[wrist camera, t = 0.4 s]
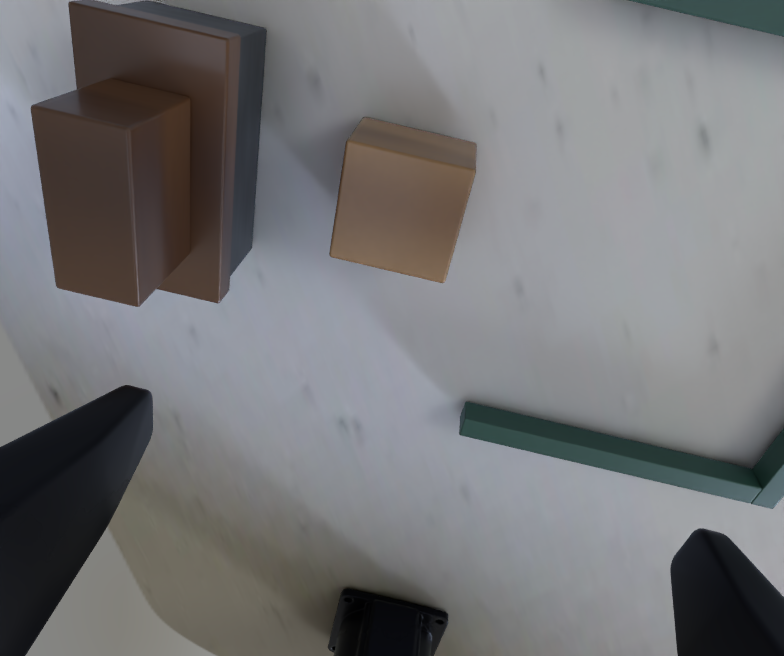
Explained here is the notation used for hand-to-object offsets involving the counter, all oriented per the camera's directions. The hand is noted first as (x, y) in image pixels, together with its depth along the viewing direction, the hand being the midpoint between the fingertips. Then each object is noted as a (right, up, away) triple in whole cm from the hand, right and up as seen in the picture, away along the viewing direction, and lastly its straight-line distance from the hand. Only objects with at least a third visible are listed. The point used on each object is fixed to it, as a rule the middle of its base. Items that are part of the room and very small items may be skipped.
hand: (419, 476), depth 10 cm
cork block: (0, +8, +12) cm, 14 cm away
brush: (-7, +9, +12) cm, 17 cm away
